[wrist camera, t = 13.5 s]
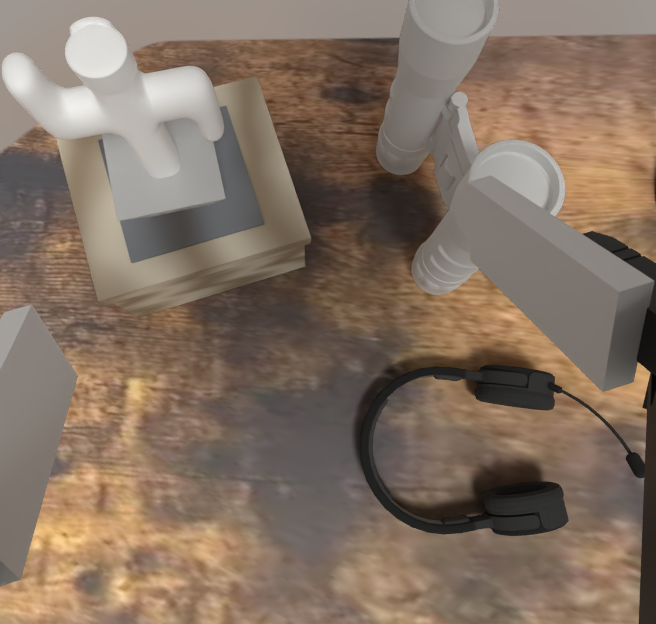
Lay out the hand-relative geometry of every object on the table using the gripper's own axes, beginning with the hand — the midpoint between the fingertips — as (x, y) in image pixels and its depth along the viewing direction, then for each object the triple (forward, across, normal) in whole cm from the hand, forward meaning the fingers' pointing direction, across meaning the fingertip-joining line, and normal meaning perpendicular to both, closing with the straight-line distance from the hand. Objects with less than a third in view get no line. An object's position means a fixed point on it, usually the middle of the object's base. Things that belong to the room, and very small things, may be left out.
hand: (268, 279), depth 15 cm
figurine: (+25, -5, -4) cm, 26 cm away
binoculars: (+28, +14, -13) cm, 34 cm away
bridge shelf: (+31, -5, -10) cm, 33 cm away
